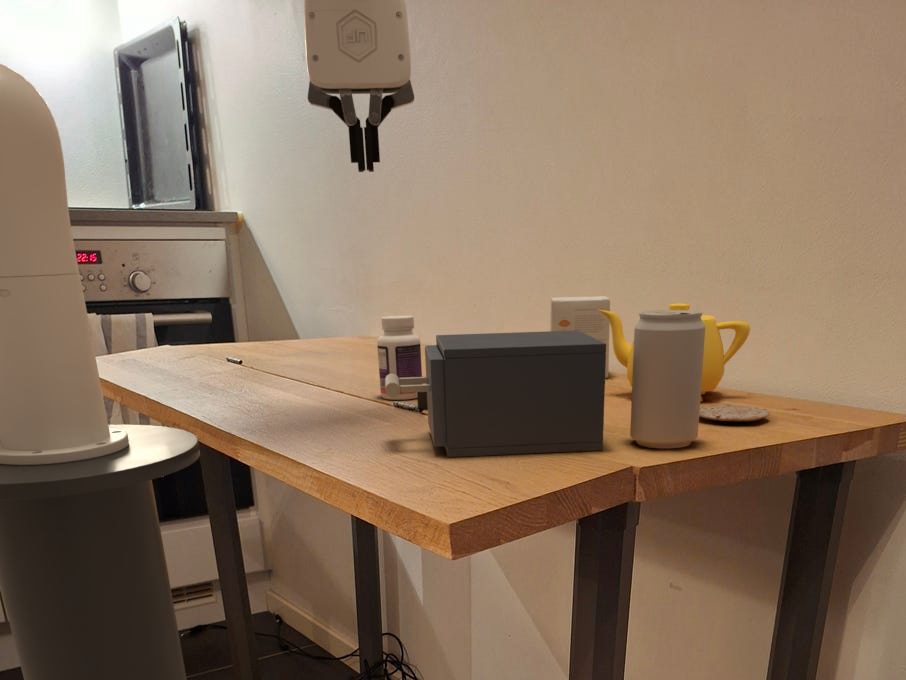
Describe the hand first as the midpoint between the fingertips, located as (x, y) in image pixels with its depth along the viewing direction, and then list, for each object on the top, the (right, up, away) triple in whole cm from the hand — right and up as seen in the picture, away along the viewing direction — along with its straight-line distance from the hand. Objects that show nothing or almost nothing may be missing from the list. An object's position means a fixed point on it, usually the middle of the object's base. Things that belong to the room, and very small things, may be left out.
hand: (366, 170), depth 94 cm
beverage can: (+30, -30, -7) cm, 43 cm away
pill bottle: (+2, -18, +22) cm, 28 cm away
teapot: (+35, -19, +18) cm, 44 cm away
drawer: (+12, -28, -5) cm, 31 cm away
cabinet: (+16, -29, -4) cm, 33 cm away
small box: (+26, -11, +35) cm, 45 cm away
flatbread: (+39, -25, +3) cm, 46 cm away
